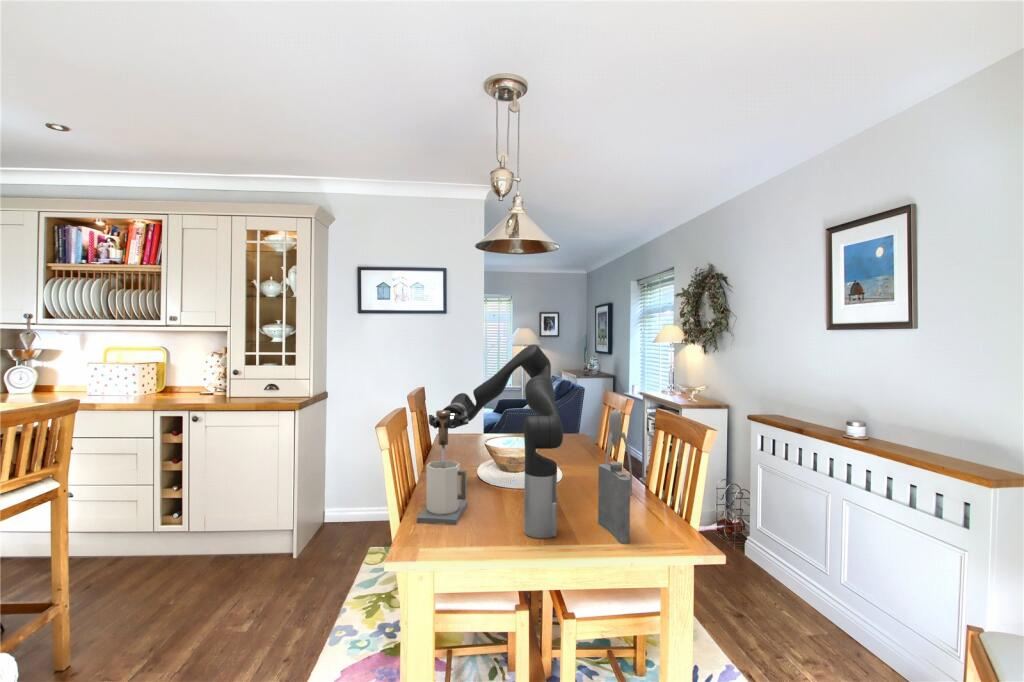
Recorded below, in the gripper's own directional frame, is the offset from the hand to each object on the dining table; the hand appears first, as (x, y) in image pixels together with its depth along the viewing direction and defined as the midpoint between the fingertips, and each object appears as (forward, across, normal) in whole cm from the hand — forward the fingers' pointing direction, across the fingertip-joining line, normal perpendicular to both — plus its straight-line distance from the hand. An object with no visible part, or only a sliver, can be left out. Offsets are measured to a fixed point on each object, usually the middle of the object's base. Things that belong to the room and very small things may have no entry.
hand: (440, 425), depth 153 cm
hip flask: (+4, +52, +29) cm, 59 cm away
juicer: (-28, +56, +29) cm, 69 cm away
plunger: (-3, 0, +19) cm, 19 cm away
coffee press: (-3, 0, +28) cm, 29 cm away
